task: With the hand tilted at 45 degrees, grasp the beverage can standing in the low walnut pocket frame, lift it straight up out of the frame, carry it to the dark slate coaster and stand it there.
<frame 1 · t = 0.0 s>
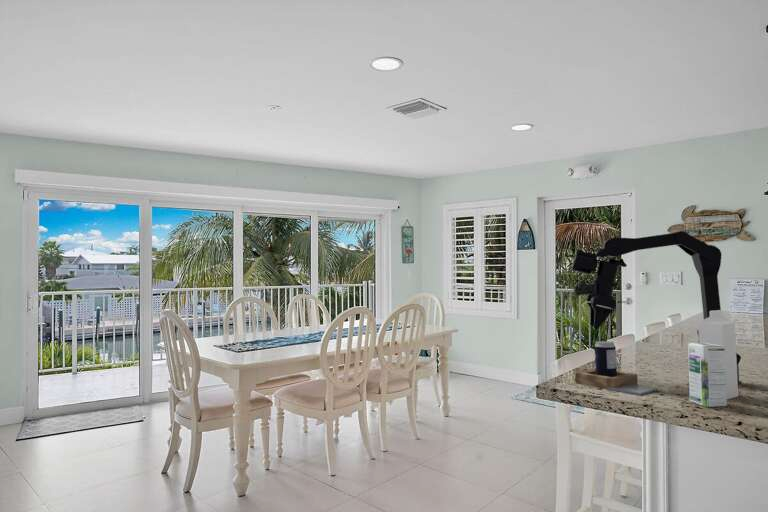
hand: (593, 327, 155), 15 cm above the countertop, tool pointing down, fingers open, 9 cm apart
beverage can: (606, 384, 146), resting in walnut pocket block
slate coaster: (632, 390, 137), on the countertop
milk: (719, 396, 130), on the countertop
syrup box: (708, 404, 122), on the countertop
walnut pocket block: (606, 383, 146), on the countertop
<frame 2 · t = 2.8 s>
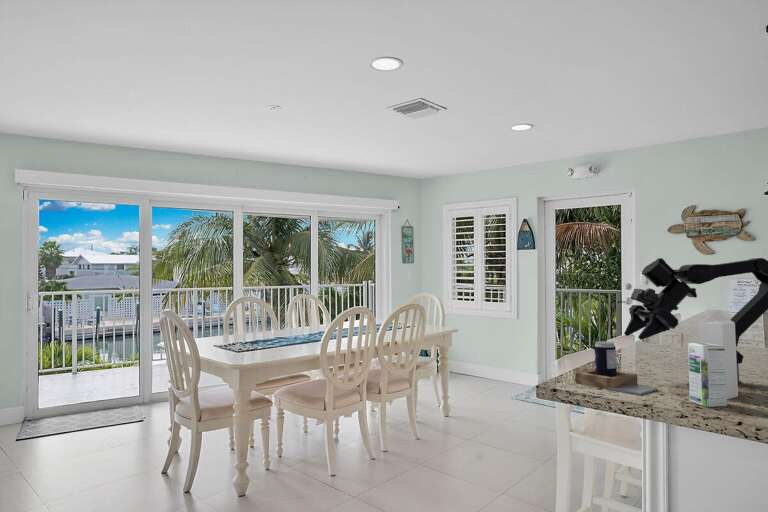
hand: (632, 336, 146), 13 cm above the countertop, tool tilted 45°, fingers open, 9 cm apart
nothing on the countertop moved.
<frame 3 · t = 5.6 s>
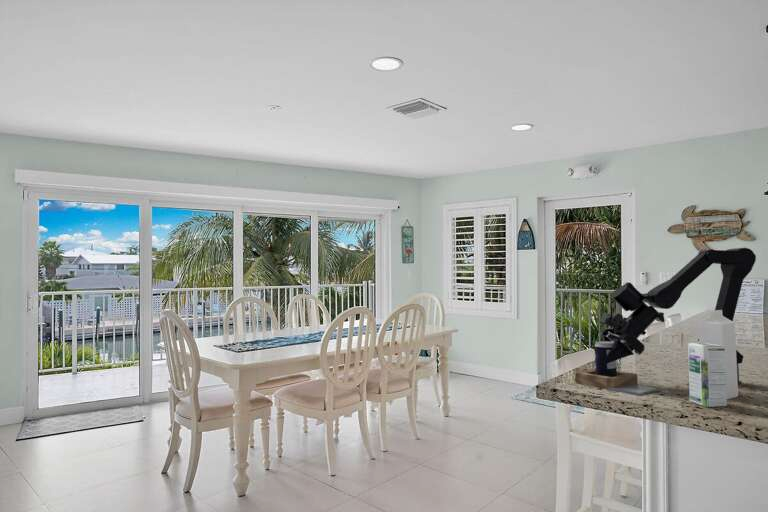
hand: (600, 360, 146), 7 cm above the countertop, tool tilted 45°, fingers closed on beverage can, 6 cm apart
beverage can: (606, 384, 146), resting in walnut pocket block, touching gripper
everything else where it was.
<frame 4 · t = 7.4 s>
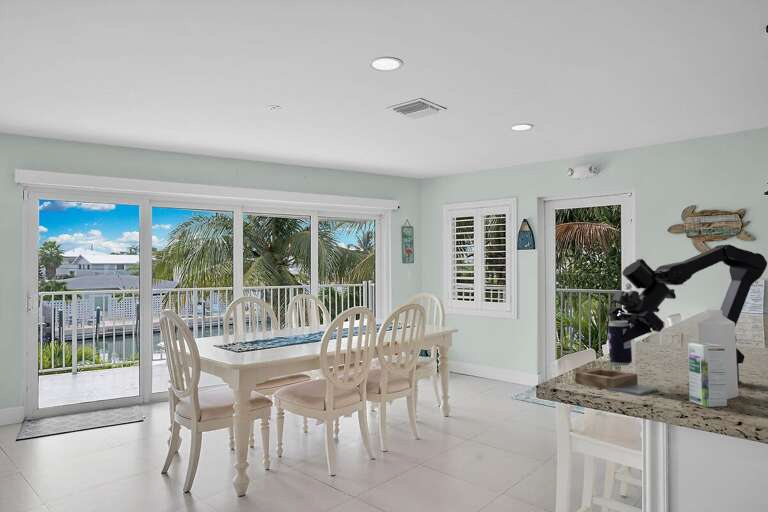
hand: (615, 340, 141), 13 cm above the countertop, tool tilted 45°, fingers closed on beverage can, 6 cm apart
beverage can: (621, 364, 141), point 6 cm above the countertop, touching gripper
everything else where it was.
when the fingers open (8 cm above the countertop, at t = 9.1 s): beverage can stays where it is, resting on slate coaster.
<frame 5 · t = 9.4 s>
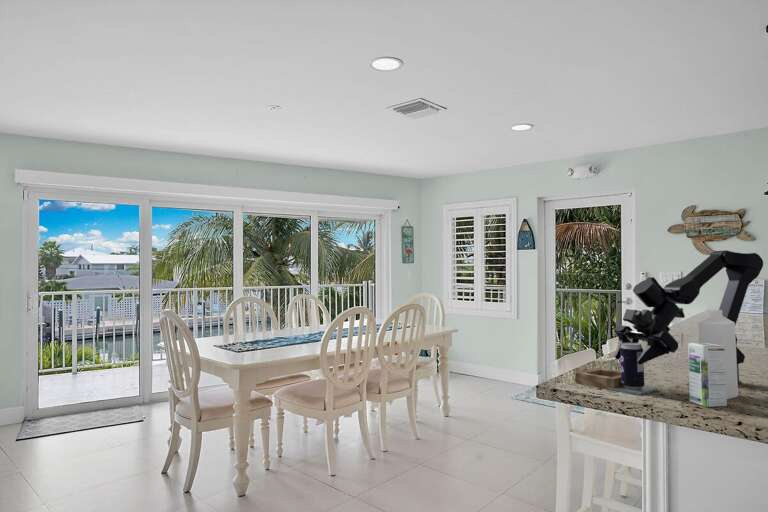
hand: (626, 360, 137), 8 cm above the countertop, tool tilted 45°, fingers open, 8 cm apart
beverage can: (632, 388, 137), resting on slate coaster
everything else where it was.
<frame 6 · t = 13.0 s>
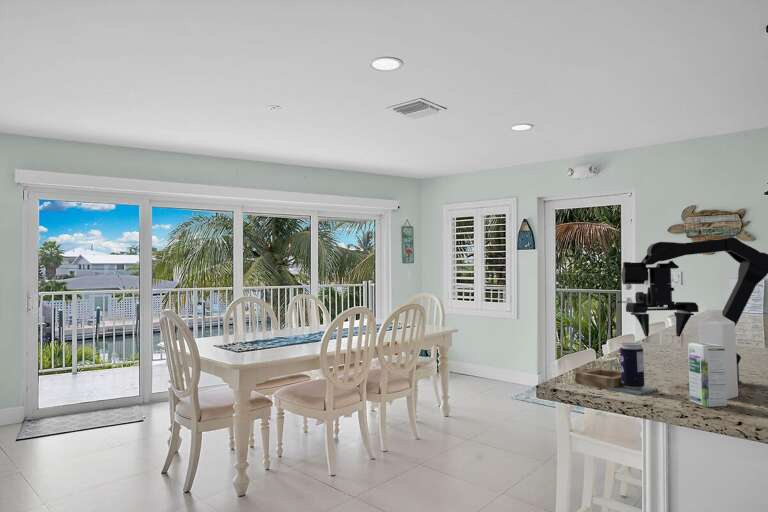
hand: (662, 336, 149), 13 cm above the countertop, tool pointing down, fingers open, 9 cm apart
nothing on the countertop moved.
at the end: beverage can inside the target area on the slate coaster (0.2 cm from its centre), point 0.4 cm above the slate coaster's base; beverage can tilted 0°; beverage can touching slate coaster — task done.
